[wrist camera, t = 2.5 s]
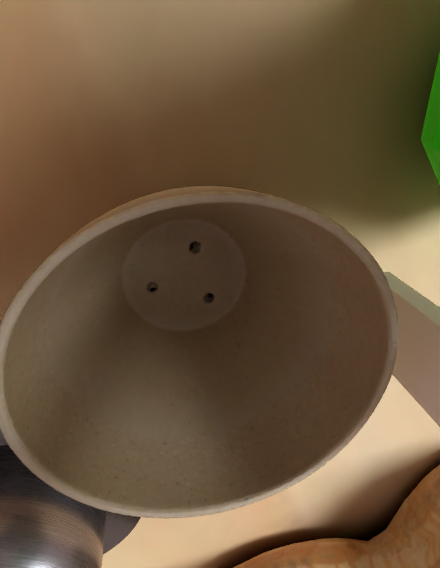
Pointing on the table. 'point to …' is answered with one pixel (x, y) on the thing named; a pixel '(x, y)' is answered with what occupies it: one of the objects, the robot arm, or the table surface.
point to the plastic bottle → (433, 125)
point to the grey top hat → (51, 522)
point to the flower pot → (194, 352)
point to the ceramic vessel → (374, 540)
